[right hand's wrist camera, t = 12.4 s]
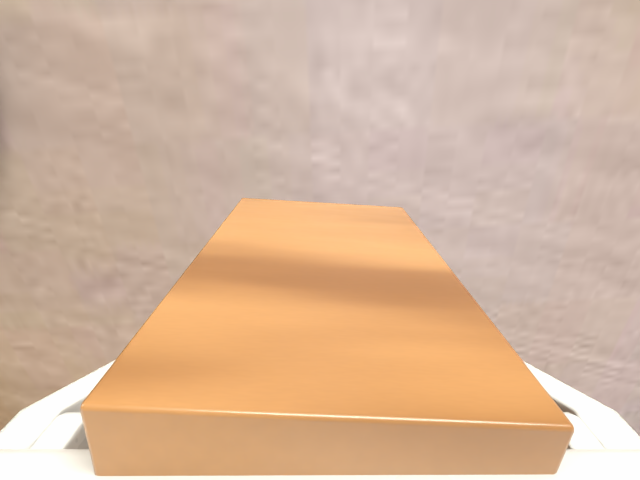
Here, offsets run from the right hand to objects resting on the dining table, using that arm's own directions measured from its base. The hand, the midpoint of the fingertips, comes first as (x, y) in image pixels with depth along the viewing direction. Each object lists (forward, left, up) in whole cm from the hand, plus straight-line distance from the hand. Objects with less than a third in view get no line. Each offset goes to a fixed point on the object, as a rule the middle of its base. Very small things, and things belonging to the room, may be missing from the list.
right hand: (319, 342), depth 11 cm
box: (+3, +11, -5) cm, 12 cm away
